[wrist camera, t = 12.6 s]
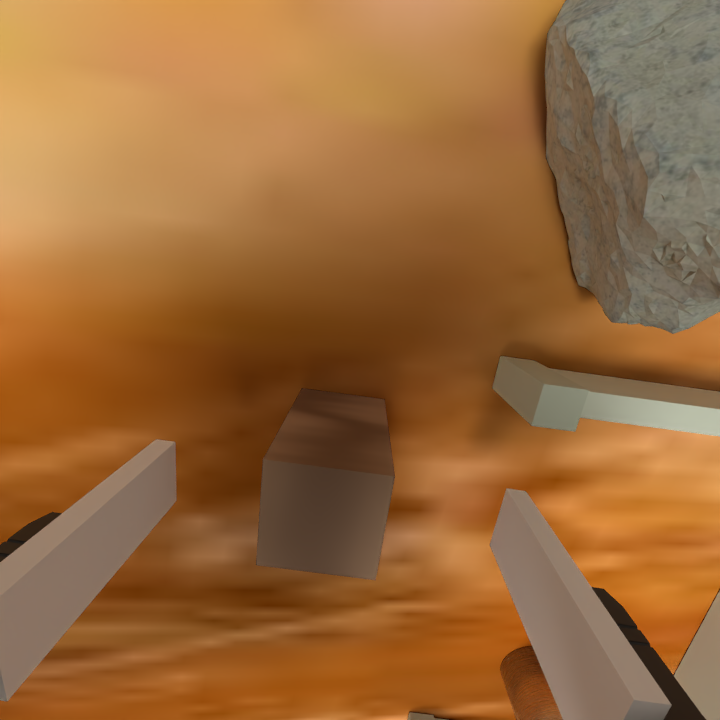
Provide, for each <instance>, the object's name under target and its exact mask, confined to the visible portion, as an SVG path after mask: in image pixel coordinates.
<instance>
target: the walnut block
mask: <svg viewBox="0 0 720 720" xmlns="http://www.w3.org/2000/svg"><path fill="white" fill-rule="evenodd" d="M394 478H395V474H394V466H393V459H392V451H391V444H390V436H389V429H388V421H387V414H386V406H385V399H379V398H372V397H364V396H357V395H349V394H342V393H334V392H327V391H319V390H312V389H304V388H302V389H301V391H300V393H299V395H298V396H297V398H296V400H295V402H294V404H293V406H292V407H291V409H290V411H289V413H288V415H287V416H286V418H285V420H284V422H283V424H282V426H281V427H280V429H279V431H278V433H277V435H276V436H275V438H274V440H273V442H272V444H271V446H270V447H269V449H268V451H267V453H266V455H265V456H264V458H263V467H262V482H261V498H260V513H259V528H258V544H257V559H256V565H259V566H267V567H275V568H283V569H291V570H299V571H307V572H315V573H323V574H331V575H339V576H347V577H355V578H363V579H371V580H376V575H377V570H378V564H379V559H380V554H381V548H382V543H383V537H384V532H385V527H386V521H387V516H388V511H389V505H390V500H391V494H392V489H393V484H394Z"/></svg>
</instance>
